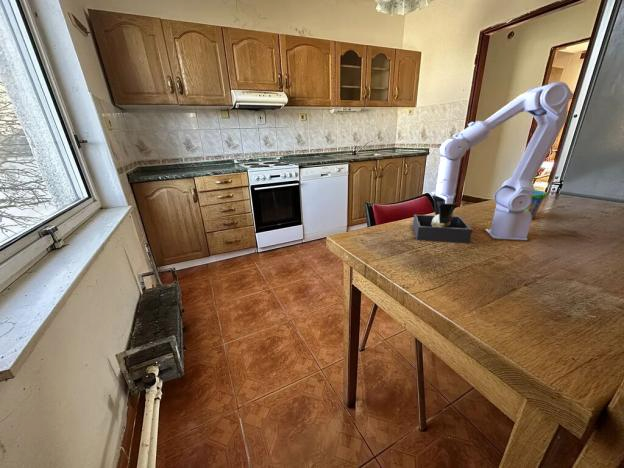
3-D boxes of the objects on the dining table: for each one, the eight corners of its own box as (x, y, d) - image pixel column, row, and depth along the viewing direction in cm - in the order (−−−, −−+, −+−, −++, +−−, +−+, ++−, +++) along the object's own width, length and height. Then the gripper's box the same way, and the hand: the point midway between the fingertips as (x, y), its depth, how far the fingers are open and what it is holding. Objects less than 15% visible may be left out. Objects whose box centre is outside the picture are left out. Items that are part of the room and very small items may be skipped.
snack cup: (509, 210, 111) (515, 186, 107) (541, 214, 104) (549, 189, 100) (501, 218, 101) (507, 193, 97) (535, 224, 94) (543, 197, 90)
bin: (458, 228, 93) (460, 216, 91) (469, 243, 81) (472, 229, 79) (412, 226, 97) (414, 214, 95) (416, 239, 85) (418, 226, 83)
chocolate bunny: (431, 229, 86) (437, 200, 82) (430, 222, 92) (436, 195, 89) (449, 232, 84) (457, 202, 80) (447, 224, 91) (453, 197, 87)
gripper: (430, 175, 89) (425, 212, 94) (437, 183, 76) (431, 225, 81) (452, 175, 88) (446, 213, 93) (464, 183, 75) (456, 227, 80)
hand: (440, 219), depth 87 cm, fingers closed on chocolate bunny, 7 cm apart
